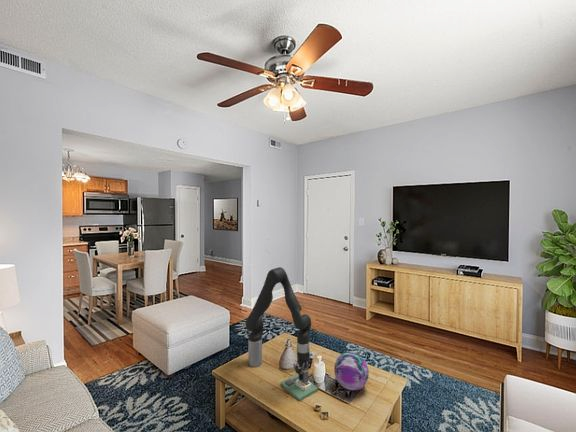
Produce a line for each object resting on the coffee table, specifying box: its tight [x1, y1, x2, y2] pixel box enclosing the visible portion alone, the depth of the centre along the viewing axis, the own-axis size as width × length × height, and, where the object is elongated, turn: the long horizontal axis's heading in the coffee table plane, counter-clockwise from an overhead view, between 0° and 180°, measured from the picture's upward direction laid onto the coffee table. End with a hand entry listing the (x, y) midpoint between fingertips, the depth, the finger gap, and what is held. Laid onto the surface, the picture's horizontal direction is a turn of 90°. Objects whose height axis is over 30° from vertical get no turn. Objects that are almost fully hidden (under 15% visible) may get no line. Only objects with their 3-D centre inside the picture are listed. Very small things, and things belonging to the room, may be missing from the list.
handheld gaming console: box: [296, 351, 317, 362], centre depth 195 cm, size 10×2×15 cm
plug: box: [298, 367, 309, 384], centre depth 161 cm, size 5×4×8 cm
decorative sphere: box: [333, 351, 370, 391], centre depth 162 cm, size 20×20×20 cm
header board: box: [279, 373, 319, 402], centre depth 162 cm, size 18×14×4 cm
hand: (303, 377), depth 161 cm, fingers closed on plug, 3 cm apart
